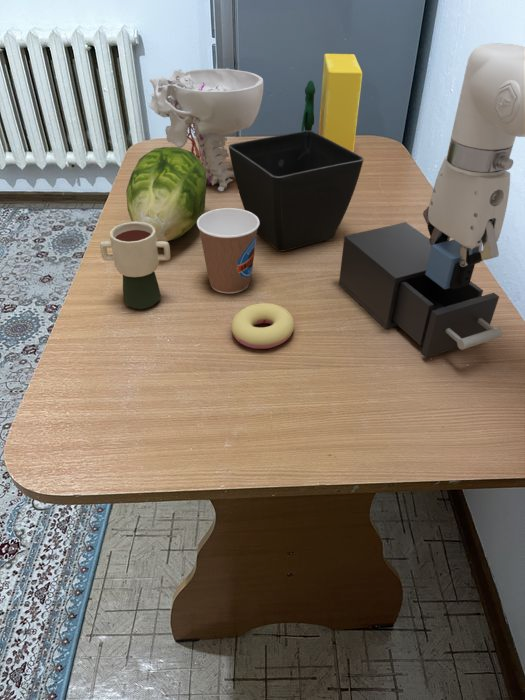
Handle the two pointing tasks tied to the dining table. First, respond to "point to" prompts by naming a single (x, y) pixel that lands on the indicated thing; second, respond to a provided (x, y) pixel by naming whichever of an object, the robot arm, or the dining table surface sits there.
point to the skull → (208, 112)
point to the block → (443, 262)
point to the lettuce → (167, 191)
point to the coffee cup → (228, 247)
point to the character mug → (136, 261)
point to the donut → (267, 335)
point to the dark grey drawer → (444, 315)
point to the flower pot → (295, 186)
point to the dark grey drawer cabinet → (382, 266)
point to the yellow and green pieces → (336, 100)
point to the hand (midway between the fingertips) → (447, 276)
